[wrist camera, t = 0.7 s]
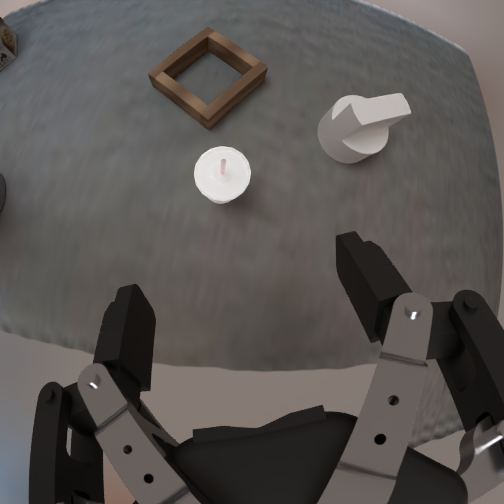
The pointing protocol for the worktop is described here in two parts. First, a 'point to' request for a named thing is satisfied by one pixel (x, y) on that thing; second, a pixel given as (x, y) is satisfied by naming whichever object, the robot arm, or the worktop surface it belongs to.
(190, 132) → the worktop surface
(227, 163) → the beverage cup
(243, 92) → the walnut collar
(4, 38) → the coffee box
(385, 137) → the cylinder with rectangular tab
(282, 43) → the worktop surface
